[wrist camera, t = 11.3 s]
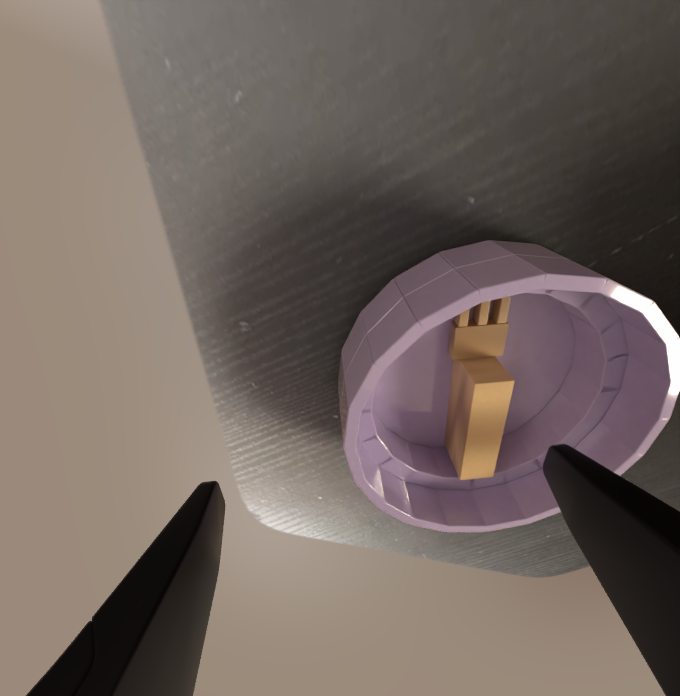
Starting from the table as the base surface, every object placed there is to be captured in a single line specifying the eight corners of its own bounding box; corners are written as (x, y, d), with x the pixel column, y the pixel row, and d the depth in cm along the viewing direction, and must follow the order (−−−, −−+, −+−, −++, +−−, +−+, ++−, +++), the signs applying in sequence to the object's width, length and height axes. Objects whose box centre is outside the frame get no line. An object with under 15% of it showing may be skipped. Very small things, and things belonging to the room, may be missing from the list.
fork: (479, 439, 24) (500, 476, 21) (437, 443, 24) (452, 481, 21) (508, 280, 18) (541, 304, 15) (454, 285, 18) (477, 309, 15)
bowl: (285, 383, 21) (276, 454, 16) (493, 166, 16) (568, 178, 11) (449, 487, 27) (478, 562, 22) (642, 352, 22) (735, 413, 17)
